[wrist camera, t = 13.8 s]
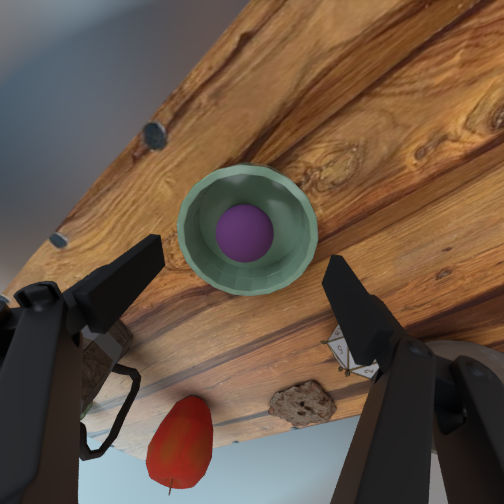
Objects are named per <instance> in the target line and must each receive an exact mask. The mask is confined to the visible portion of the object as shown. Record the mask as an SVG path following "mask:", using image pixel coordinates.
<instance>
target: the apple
mask: <svg viewBox="0 0 504 504" xmlns="http://www.w3.org/2000/svg"><path fill="white" fill-rule="evenodd" d="M212 446H213V425H212V419H211V413H210V409H209V408H208V406H207V405H206V404H205V402H204V401H203V400H202V399H200V398H198V397H195V396H189V397H186V398H184V399H182V400H180V401H178V402H176V404H175V405H174V406H173V408H172V409H171V410H170V412H169V413H168V414H167V416H166V417H165V418H164V420H163V421H162V423H161V424H160V426H159V427H158V429H157V431H156V433H155V435H154V436H153V438H152V440H151V442H150V444H149V445H148V451H147V458H146V466H147V469H148V473H149V476H150V478H151V479H153V480H155V481H157V482H158V483H160V484H162V485H164V486H167V487H169V488H170V490H169V494H170V491H171V488H175V489H185V488H191V487H194V486H195V485H196V484H197V483H198V481H199V480H200V479H201V478H202V477H203V476H204V475H205V473H206V471H207V468H208V466H209V463H210V461H211V458H212Z"/></svg>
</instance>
